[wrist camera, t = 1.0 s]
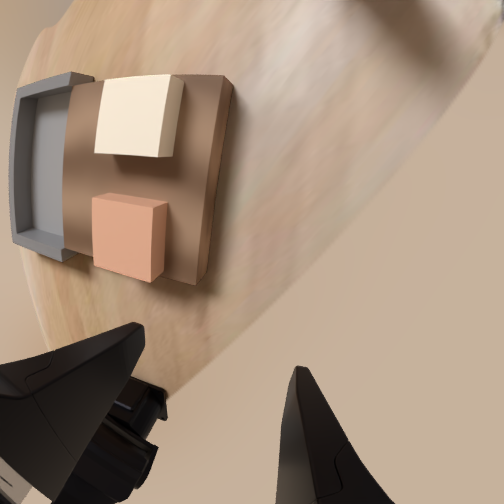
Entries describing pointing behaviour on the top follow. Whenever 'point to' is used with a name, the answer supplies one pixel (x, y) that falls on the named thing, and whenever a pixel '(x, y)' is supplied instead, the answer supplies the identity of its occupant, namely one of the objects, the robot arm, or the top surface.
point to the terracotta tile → (129, 235)
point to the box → (40, 164)
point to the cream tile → (139, 115)
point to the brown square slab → (151, 173)
